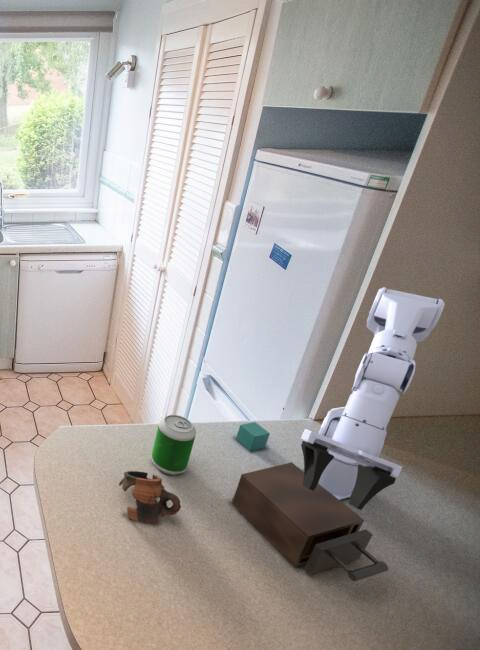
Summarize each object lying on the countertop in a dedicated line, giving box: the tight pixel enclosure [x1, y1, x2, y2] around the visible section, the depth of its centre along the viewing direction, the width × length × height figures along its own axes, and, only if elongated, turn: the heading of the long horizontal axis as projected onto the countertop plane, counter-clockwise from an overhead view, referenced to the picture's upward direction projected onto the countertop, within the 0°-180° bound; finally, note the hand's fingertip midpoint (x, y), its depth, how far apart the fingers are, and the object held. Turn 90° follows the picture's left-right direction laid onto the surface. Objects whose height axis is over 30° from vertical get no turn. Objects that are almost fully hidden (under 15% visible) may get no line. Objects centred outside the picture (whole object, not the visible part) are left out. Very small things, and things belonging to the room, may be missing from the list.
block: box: [235, 421, 271, 452], centre depth 109 cm, size 4×4×4 cm
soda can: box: [151, 414, 197, 476], centre depth 101 cm, size 8×8×12 cm
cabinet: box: [231, 462, 365, 568], centre depth 87 cm, size 15×13×8 cm
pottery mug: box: [118, 470, 182, 524], centre depth 91 cm, size 12×10×8 cm
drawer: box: [302, 526, 389, 582], centre depth 82 cm, size 18×11×6 cm, turn 15°
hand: (331, 497), depth 76 cm, fingers open, 7 cm apart
